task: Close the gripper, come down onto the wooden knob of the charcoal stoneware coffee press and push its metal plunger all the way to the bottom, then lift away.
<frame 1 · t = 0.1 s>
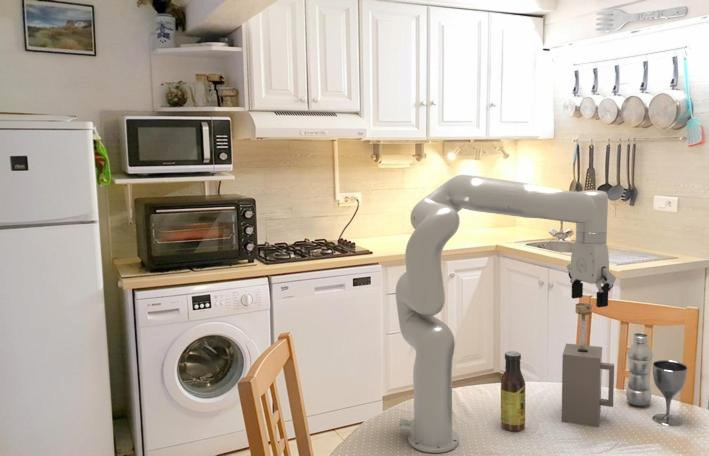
hand: (589, 302, 163), 31 cm above the table, tool pointing down, fingers open, 9 cm apart
sauce bottle: (512, 427, 163), on the table
plunger: (582, 340, 164), point 21 cm above the table, slide at 0.0 cm
wine glass: (667, 420, 163), on the table
press pot: (581, 417, 167), on the table
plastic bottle: (638, 404, 174), on the table
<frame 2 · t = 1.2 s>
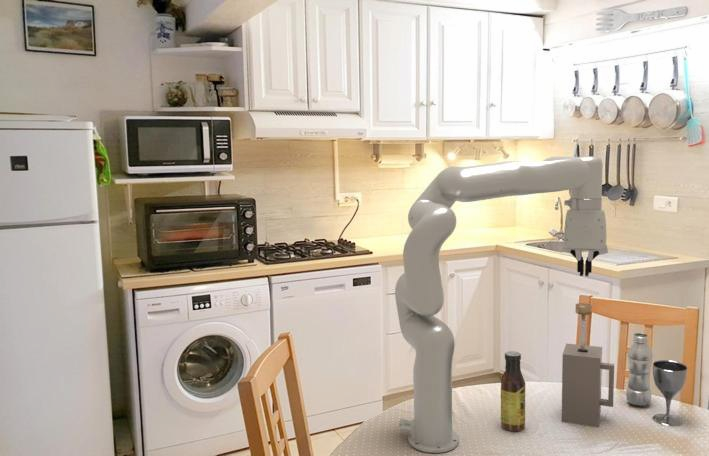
hand: (584, 274, 161), 39 cm above the table, tool pointing down, fingers closed
nothing on the table moved.
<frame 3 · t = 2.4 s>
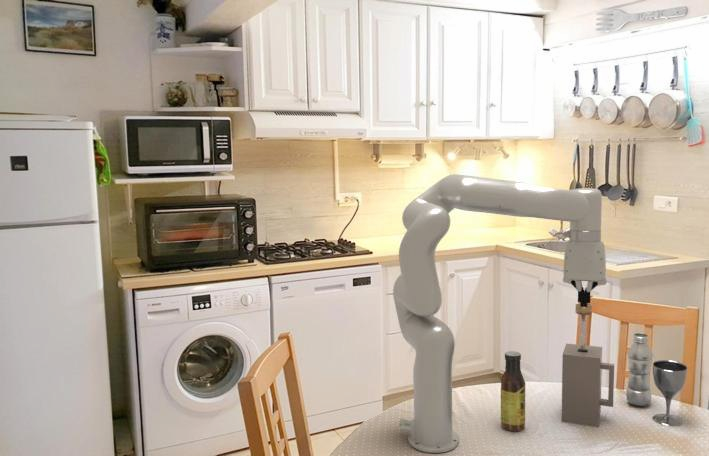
hand: (583, 305, 162), 31 cm above the table, tool pointing down, fingers closed
plunger: (582, 341, 164), point 21 cm above the table, slide at 0.1 cm, touching gripper
everything else where it was.
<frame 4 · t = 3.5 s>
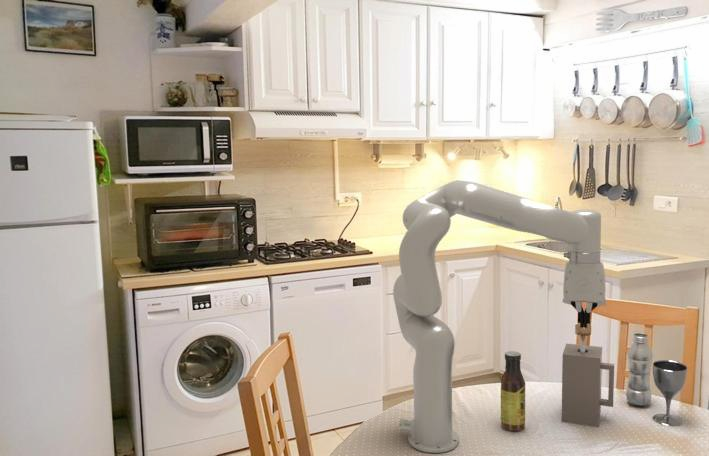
hand: (583, 325, 163), 25 cm above the table, tool pointing down, fingers closed
plunger: (582, 361, 164), point 16 cm above the table, slide at 5.7 cm, touching gripper
everything else where it was.
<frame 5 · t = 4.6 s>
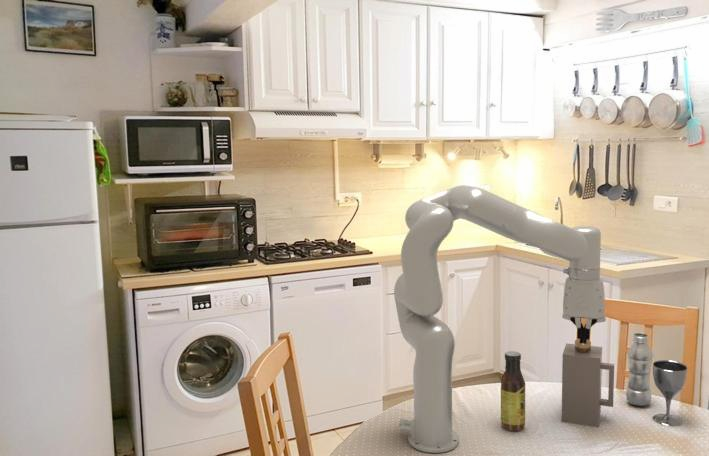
hand: (583, 341, 164), 21 cm above the table, tool pointing down, fingers closed
plunger: (582, 376, 165), point 11 cm above the table, slide at 10.0 cm, touching gripper
everything else where it was.
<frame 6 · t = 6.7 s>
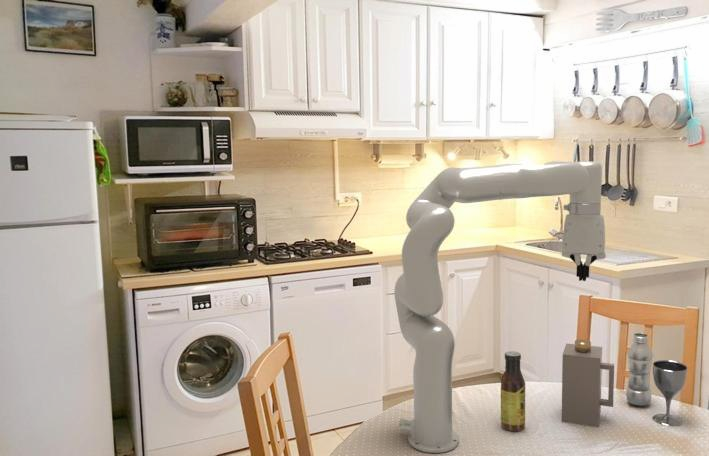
hand: (582, 279, 161), 38 cm above the table, tool pointing down, fingers closed
plunger: (582, 376, 165), point 11 cm above the table, slide at 10.0 cm
everything else where it was.
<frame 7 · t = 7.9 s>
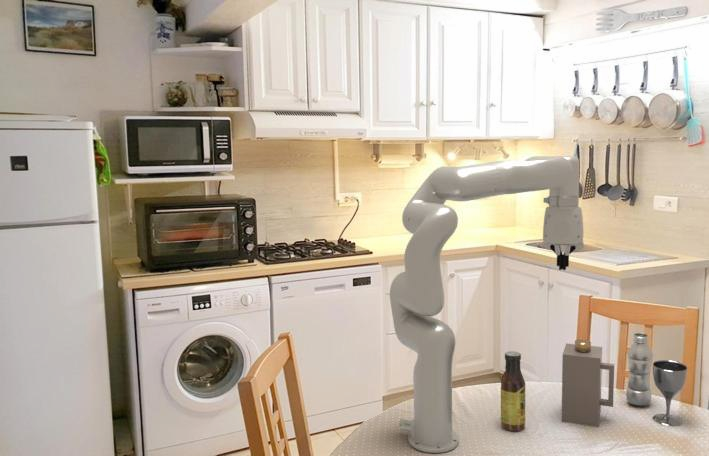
hand: (562, 268, 169), 39 cm above the table, tool pointing down, fingers closed
nothing on the table moved.
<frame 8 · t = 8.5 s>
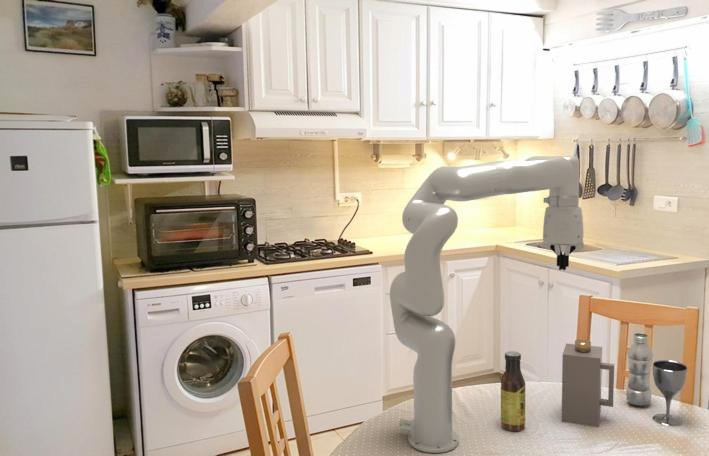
hand: (562, 268, 169), 39 cm above the table, tool pointing down, fingers closed
nothing on the table moved.
at the end: plunger slide at 10.0 cm; wine glass tilted 0° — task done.
